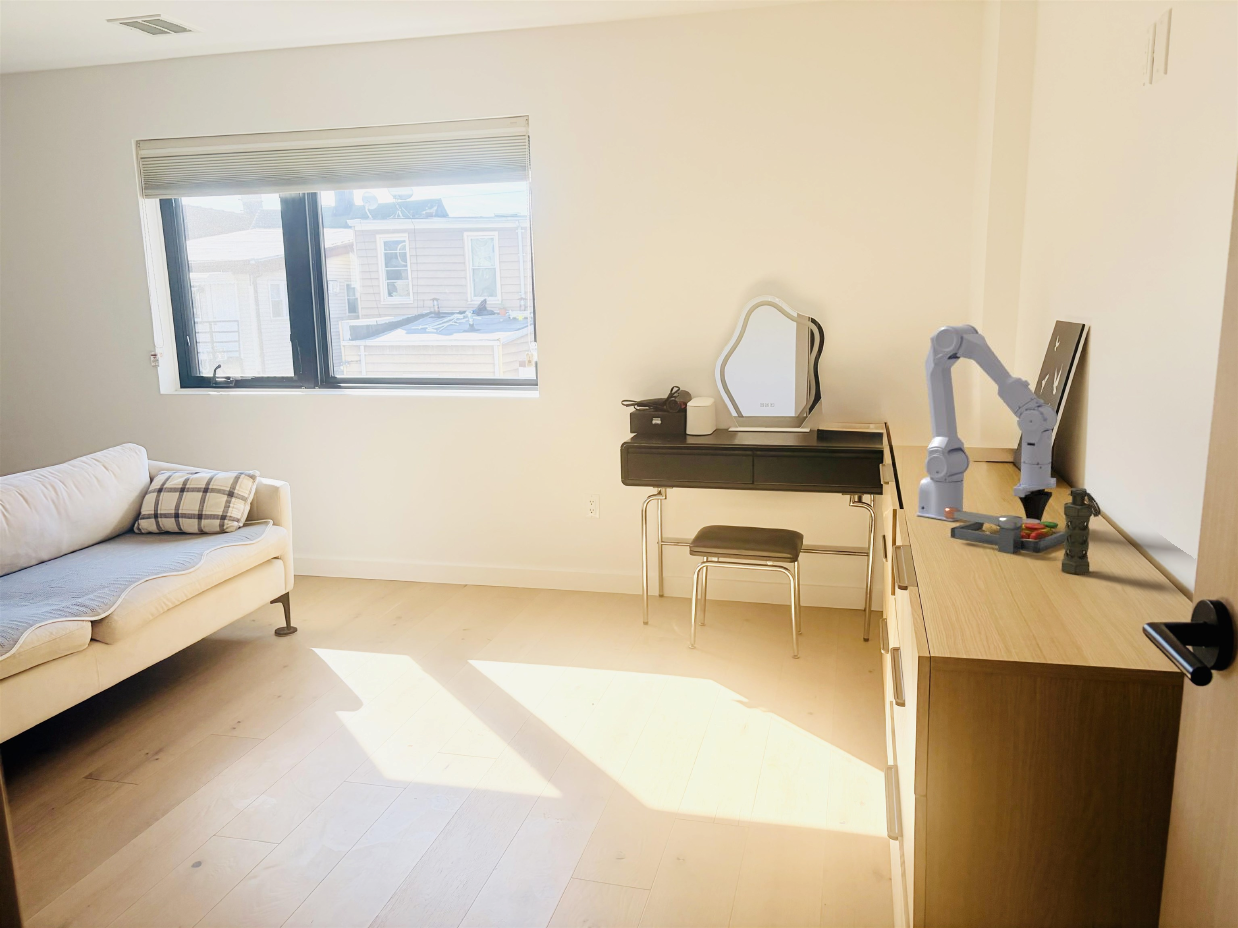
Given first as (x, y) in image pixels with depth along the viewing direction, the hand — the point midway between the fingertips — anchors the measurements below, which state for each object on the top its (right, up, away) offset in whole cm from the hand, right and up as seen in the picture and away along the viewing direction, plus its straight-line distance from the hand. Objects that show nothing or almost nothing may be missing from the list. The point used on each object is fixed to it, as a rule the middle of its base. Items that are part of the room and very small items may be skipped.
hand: (1033, 524), depth 185 cm
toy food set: (-5, -3, -5) cm, 8 cm away
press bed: (-9, -3, -7) cm, 12 cm away
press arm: (-16, +1, -12) cm, 20 cm away
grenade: (-6, -6, -29) cm, 31 cm away
